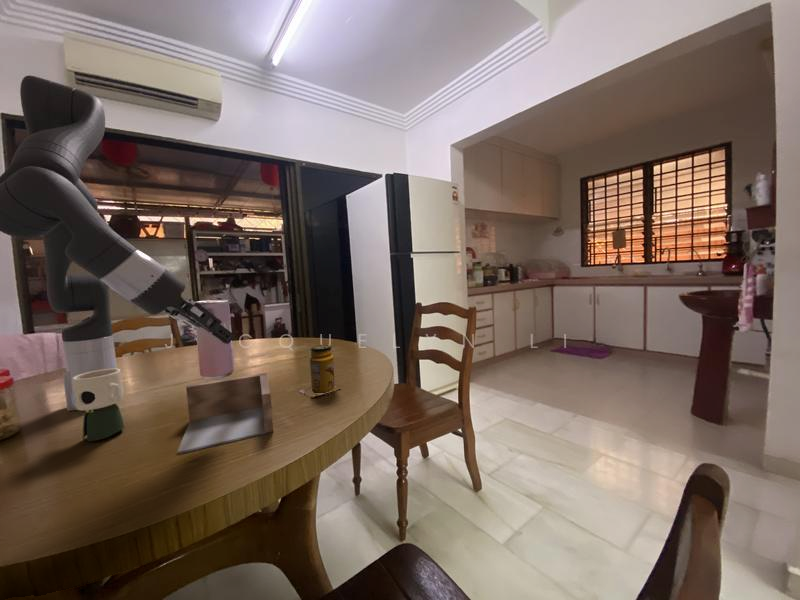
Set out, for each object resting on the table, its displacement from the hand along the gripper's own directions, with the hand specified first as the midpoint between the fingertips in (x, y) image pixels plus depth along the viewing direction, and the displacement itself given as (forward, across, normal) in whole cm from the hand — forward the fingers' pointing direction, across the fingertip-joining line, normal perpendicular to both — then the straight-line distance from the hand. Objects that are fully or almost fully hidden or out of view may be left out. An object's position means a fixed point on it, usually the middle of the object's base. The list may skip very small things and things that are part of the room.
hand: (224, 338), depth 65 cm
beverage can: (+4, 0, +6) cm, 8 cm away
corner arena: (+13, +1, +13) cm, 19 cm away
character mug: (+1, +18, +26) cm, 32 cm away
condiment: (+30, +2, -3) cm, 30 cm away
